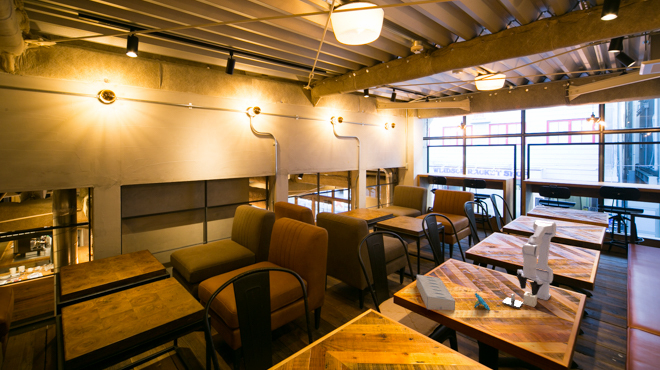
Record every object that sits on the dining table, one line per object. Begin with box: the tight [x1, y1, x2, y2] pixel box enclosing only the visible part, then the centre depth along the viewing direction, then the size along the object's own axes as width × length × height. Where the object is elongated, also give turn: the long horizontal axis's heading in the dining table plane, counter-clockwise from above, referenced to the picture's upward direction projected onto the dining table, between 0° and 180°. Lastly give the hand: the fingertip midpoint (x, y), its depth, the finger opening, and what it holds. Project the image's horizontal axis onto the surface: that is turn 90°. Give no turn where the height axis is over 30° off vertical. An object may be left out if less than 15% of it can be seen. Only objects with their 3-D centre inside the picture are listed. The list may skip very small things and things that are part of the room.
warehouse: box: [415, 274, 456, 311], centre depth 173 cm, size 30×14×8 cm, turn 174°
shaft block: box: [502, 292, 524, 310], centre depth 164 cm, size 8×8×6 cm
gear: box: [474, 292, 490, 311], centre depth 160 cm, size 11×6×10 cm
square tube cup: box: [522, 291, 538, 308], centre depth 163 cm, size 5×5×6 cm
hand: (528, 291), depth 157 cm, fingers open, 7 cm apart
